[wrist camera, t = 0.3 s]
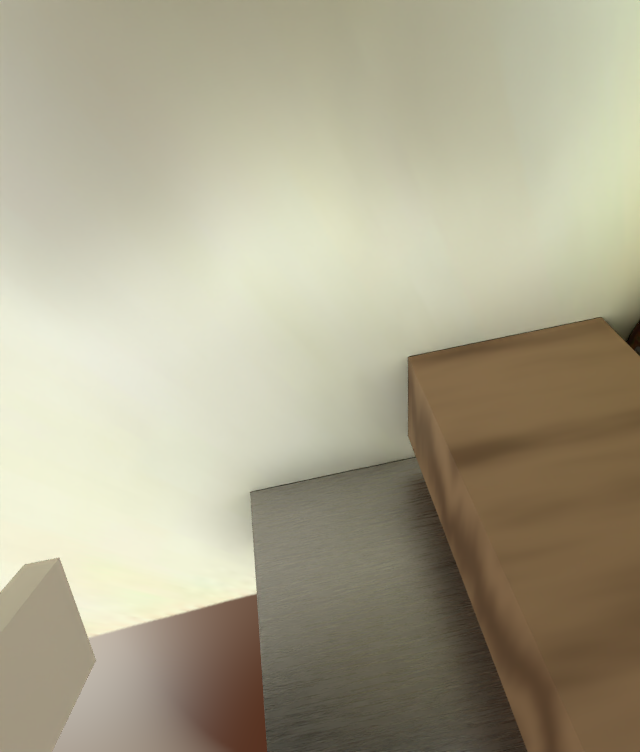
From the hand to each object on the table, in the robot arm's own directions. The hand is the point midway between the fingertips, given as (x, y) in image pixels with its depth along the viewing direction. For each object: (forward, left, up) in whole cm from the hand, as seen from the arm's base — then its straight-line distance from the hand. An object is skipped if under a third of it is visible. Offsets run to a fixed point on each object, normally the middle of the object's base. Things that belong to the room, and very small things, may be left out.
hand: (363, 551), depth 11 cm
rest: (+21, 0, -14) cm, 25 cm away
